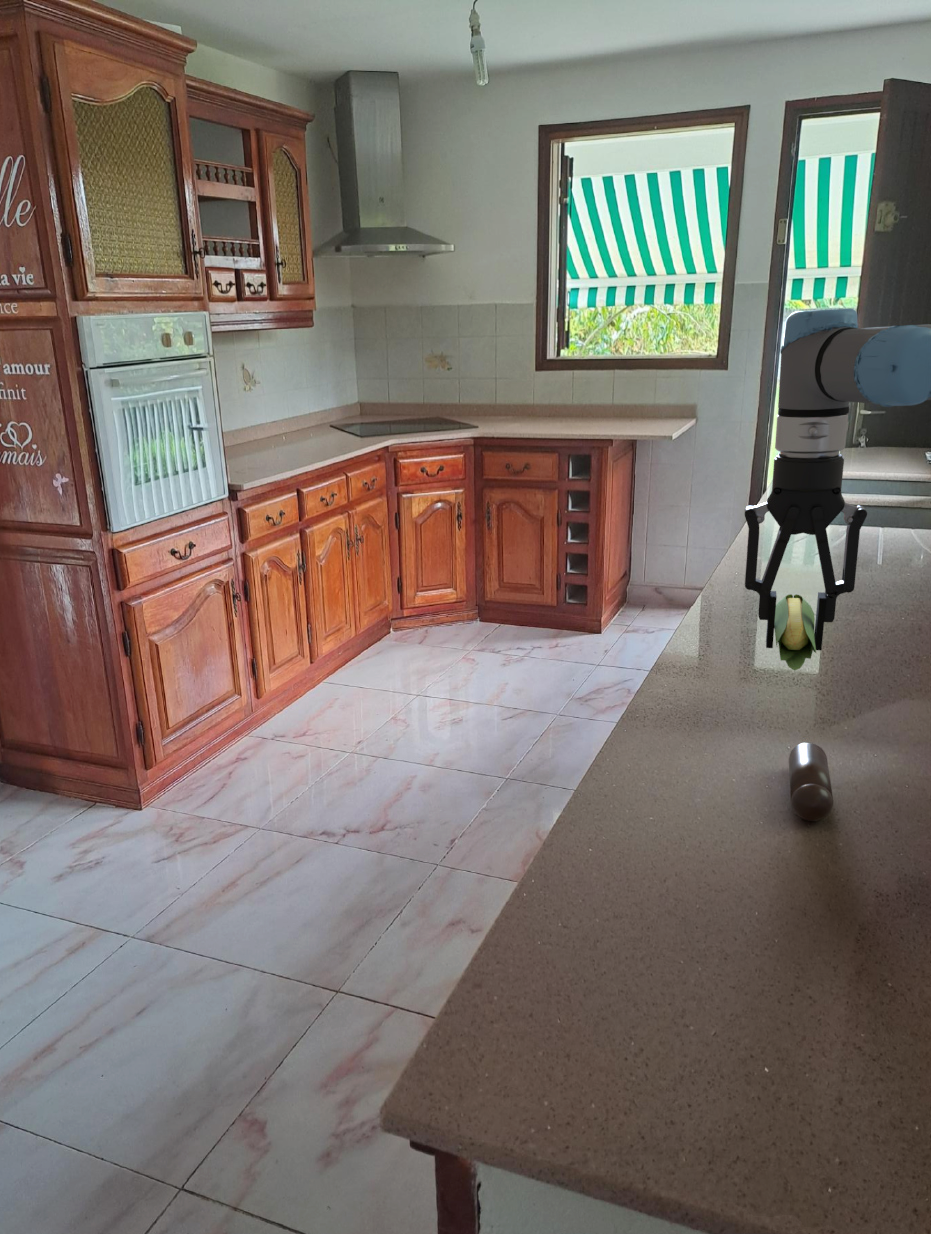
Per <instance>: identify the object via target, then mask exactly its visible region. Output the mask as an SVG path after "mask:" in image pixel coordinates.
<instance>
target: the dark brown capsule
mask: <svg viewBox="0 0 931 1234" xmlns="http://www.w3.org/2000/svg"><path fill="white" fill-rule="evenodd" d="M827 756H828V755H827V754H826V752H825V750H824V749H823V748H822V747H821V746H819V744H816V743H812V742H802V743H799V744H797V745H795V747H793V748H792V749H791V751H790V753H789V755H788V773H789V790H790V791H789V792H790V803H791V807H792V809H793V812H794V813H795V815H796V816H798V817H799V818H800V819H802V820H804V821H808V822H819V821H822V820H823V819H826V818H827V817H828V816H829V815H830V813H831V812H832V811H833V808H834V798H833V790H832V789H833V788H832V782H831V775H830V770H829V762H828V757H827Z"/></svg>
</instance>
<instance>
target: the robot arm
mask: <svg viewBox="0 0 931 1234" xmlns="http://www.w3.org/2000/svg"><path fill="white" fill-rule="evenodd" d="M779 353H780V367H779V368H780V370H779V385H778V402H777V403H778V405H777V409H778V410H777V415H776V417H777V418H776V427H775V428H776V429H775V443H774V444H775V445H774V449H775V451H778V452H779V453H778V454H777V455H775V457H774V458H773V472H772V485H771V492H770V494H769V496H768V497H767V499H766V502H763V503H760V504H757V505H747V506H745V508H744V518H745V521H746V524H747V528H748V532H747V547H746V560H745V561H746V562H745V563H746V564H745V575H744V587H745V589H746V590H748V591H754V592H755V593H757V594H758V596H759V597H758V610H757V611H758V612H757V615H758V619H759V621H766V622H767V623H766V634H765V635H766V636H765V648H766V649H773V648H774V636H775V629H774V624H775V611H776V605H777V598H778V597H777V596H778V595H777V591H776V590H772V589H773V586H774V584H775V581H776V578H777V575H778V572H779V569H780V566H781V564H782V560H783V558H784V555H785V551H786V549H787V547H788V543H790V539H791V536H792V535H793V536H795V535H796V536H797V535H800V534H806V535H809V536H815V537H814V538H815V542H816V547H817V552H818V556H819V564H820V569H821V574H822V575H821V576H822V580H823V585H824V592H821V591H820V592H819V591H817V599H816V612H815V621H814V637H815V646H816V651H822V649H823V639H824V628H825V623H833V622H834V620H835V616H836V615H835V614H836V606H837V598H838V596H840V595H842V594H845V593H848V594H849V593H852V592H853V591H854V590H855V587H856V586H855V585H856V574H857V564H858V553H859V544H860V536H861V535H860V533H861V529H862V527H863V525H864V523H865V520H866V519H867V516H868V512H867V510H866V507H864V506H863V505H854V504H852V503H848V502H845V498H844V497H843V493H842V484H843V476H844V475H843V474H844V465H845V457H844V455H843V454H841V453H840V452H841V451H843V450H845V448H846V444H847V443H846V442H847V431H848V421H849V413H850V402H851V403H861V404H870V405H879V406H880V407H884V408H885V407H886V408H892V407H906V406H907V407H908V406H909V407H910V406H916V405H920V404H923V403H924V402H925V401H931V324H929V323H927V324H906V325H900V324H898V325H891V326H873V327H860V328H859V324H858V313H857V311H856V310H855V309H854V308H833V309H815V310H814V309H813V310H798V311H797V310H796V311H793V312H792V313H790V314H789V315H788V316H787V318H786V319H785V323H784V331H783V339H782V346H781V347H780V352H779ZM768 512H769V514H770V515H771V517H773V519H774V520H775V522H776V523H777V525H778V526H779V527H778V531H777V534H776V538H775V541H774V544H773V546H772V549H771V553H770V555H769V558H768V561H767V564H766V566H765V570H764V573H763V575H762V579H759V578H757V569H758V557H759V556H758V555H759V544H760V543H759V542H760V524H762V523H764V521H765V518H766V517H765V516H766V514H767V513H768ZM840 513H843V520H844V522H845V524H847V525H846V529H845V541H844V551H843V552H844V553H843V564H842V573H841V580H838V581H836V577H835V572H834V566H833V561H832V556H831V554H832V553H831V550H830V544H829V538H828V533H827V528H828V527H829V526H830V525H831V524H832V522H833V521H834V520H835V519H836V518H837V517H838V516H839V514H840Z"/></svg>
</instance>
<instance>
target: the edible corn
mask: <svg viewBox="0 0 931 1234" xmlns="http://www.w3.org/2000/svg"><path fill="white" fill-rule="evenodd" d="M815 622H816V617H815V613H814V610H813V607H812V605H811V604H809V602H808V601H807V600H806V599H805V598H804V597H803V596H802V595H801V594H794V595H793V594H791V593H790V594H787V595H785V596H784V597H783V598H782V599H780V600H779V601H777V602H776V611H775V624H774V636H775V645H776V646H778V651H779V652H778V653H779V659H780V661H781V662H782V661H785V663H786V666H788V668H790V669H791V670H793V671H794V672H795V671H797V670H800V669H801V668H802V666H803V665H804V664H805V662H806V659H810V660H811V659H812V656H813V653H815V654H817V650H816V646H815V637H814V633H815Z"/></svg>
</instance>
